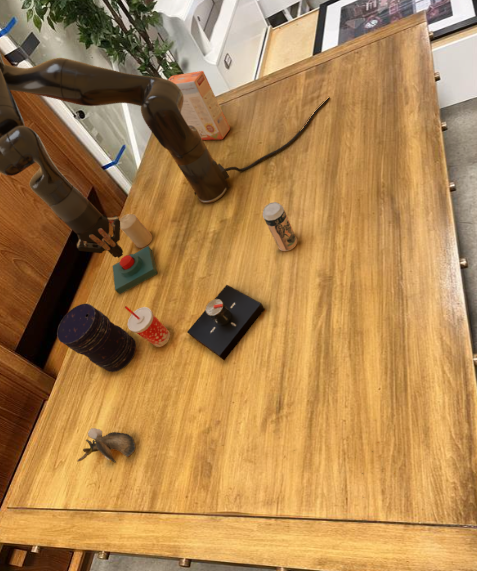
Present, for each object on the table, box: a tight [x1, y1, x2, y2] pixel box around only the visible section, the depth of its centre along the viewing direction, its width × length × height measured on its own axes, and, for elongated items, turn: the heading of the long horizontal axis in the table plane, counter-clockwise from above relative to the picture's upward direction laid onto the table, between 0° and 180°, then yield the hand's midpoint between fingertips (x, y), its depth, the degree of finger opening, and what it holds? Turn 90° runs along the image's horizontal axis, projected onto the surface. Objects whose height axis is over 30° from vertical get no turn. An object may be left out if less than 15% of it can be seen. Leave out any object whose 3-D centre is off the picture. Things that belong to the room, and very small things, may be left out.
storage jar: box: [56, 303, 137, 373], centre depth 88 cm, size 10×10×15 cm
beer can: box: [262, 201, 298, 252], centre depth 88 cm, size 5×5×12 cm
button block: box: [112, 245, 158, 295], centre depth 107 cm, size 12×10×4 cm
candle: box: [119, 213, 153, 249], centre depth 112 cm, size 6×6×10 cm
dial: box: [205, 298, 231, 326], centre depth 82 cm, size 4×4×5 cm
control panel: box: [186, 284, 266, 362], centre depth 85 cm, size 14×11×3 cm
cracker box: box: [167, 70, 231, 141], centre depth 128 cm, size 14×6×21 cm, turn 58°
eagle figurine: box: [76, 427, 136, 464], centre depth 77 cm, size 8×7×9 cm
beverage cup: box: [124, 305, 171, 348], centre depth 86 cm, size 6×6×14 cm
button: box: [119, 254, 135, 269], centre depth 105 cm, size 4×4×2 cm
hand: (120, 254), depth 103 cm, fingers closed
